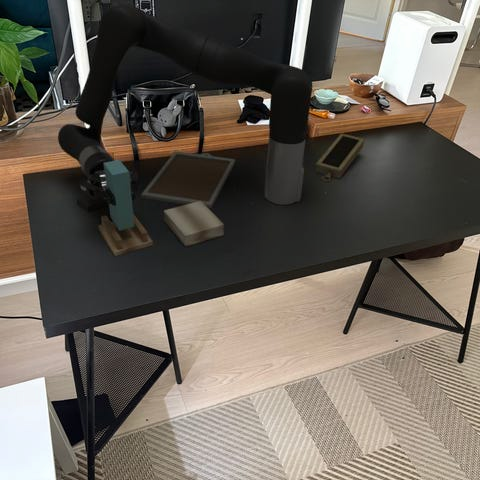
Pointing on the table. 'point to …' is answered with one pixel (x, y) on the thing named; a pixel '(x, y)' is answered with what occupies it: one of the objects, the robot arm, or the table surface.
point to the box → (339, 156)
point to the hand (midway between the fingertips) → (123, 199)
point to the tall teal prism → (119, 194)
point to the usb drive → (90, 203)
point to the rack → (124, 236)
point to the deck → (193, 223)
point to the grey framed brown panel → (190, 179)
